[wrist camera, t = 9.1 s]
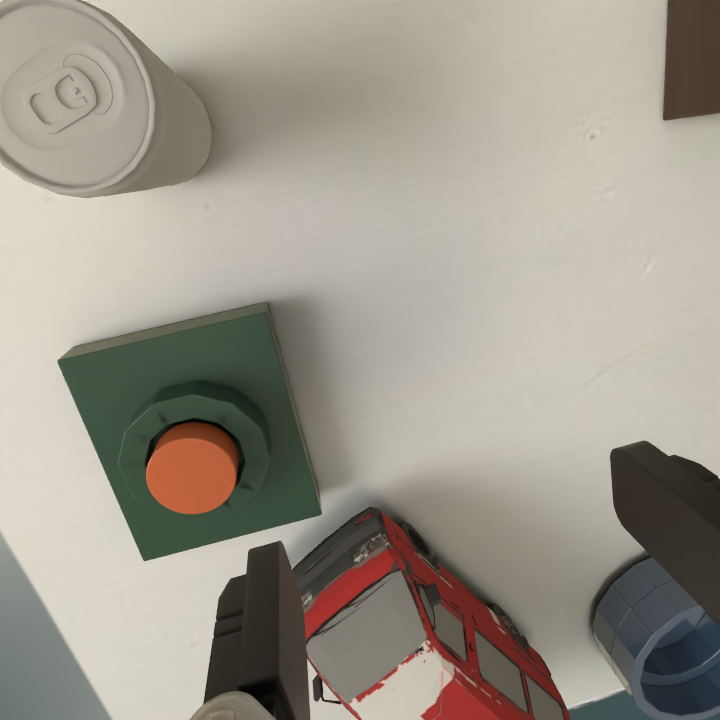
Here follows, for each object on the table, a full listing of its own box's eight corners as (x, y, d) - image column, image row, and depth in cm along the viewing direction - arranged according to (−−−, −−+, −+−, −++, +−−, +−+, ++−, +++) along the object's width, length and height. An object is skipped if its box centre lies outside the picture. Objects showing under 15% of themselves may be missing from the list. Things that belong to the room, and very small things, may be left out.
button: (142, 433, 25) (132, 450, 24) (225, 412, 26) (221, 428, 24) (169, 502, 27) (162, 523, 25) (248, 482, 27) (246, 502, 25)
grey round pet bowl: (561, 614, 38) (601, 676, 33) (676, 518, 37) (734, 569, 32) (638, 680, 42) (684, 744, 37) (746, 594, 40) (808, 649, 35)
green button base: (72, 346, 27) (40, 374, 23) (266, 301, 28) (265, 321, 24) (152, 536, 31) (135, 585, 28) (319, 493, 32) (324, 535, 28)
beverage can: (233, 154, 25) (199, 142, 14) (146, 205, 26) (43, 233, 14) (173, 51, 24) (79, -57, 12) (80, 106, 24) (-96, 49, 13)
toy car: (385, 467, 32) (429, 588, 23) (533, 637, 38) (615, 787, 29) (267, 553, 33) (262, 705, 24) (431, 706, 39) (479, 873, 30)
